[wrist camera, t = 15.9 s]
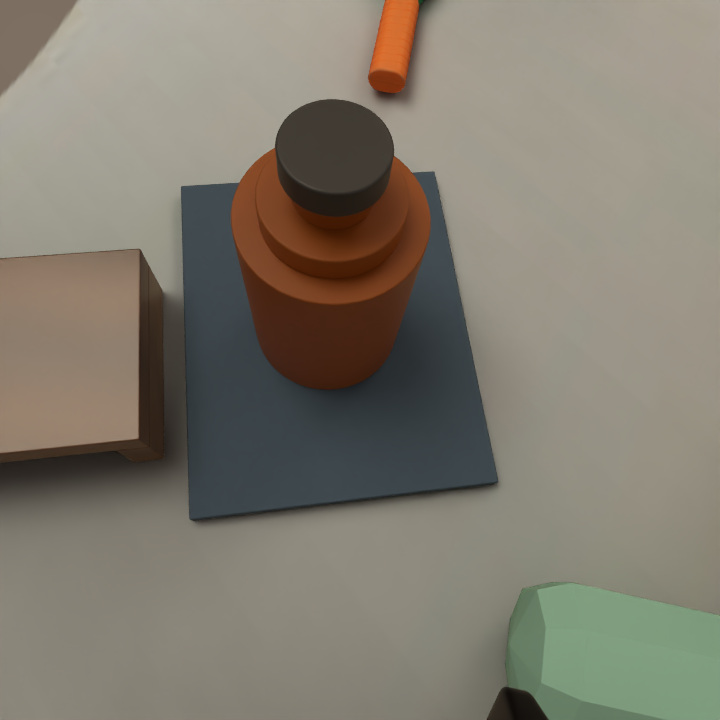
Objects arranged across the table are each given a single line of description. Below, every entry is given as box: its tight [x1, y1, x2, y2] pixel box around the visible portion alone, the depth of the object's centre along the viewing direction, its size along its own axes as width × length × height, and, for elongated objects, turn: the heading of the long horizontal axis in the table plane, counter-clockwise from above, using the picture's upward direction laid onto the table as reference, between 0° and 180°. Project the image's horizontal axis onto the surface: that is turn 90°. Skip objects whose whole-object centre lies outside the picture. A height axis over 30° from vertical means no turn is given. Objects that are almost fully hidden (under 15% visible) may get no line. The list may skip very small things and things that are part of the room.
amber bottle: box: [231, 99, 431, 390], centre depth 20 cm, size 6×6×11 cm
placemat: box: [181, 172, 498, 521], centre depth 25 cm, size 15×12×1 cm
